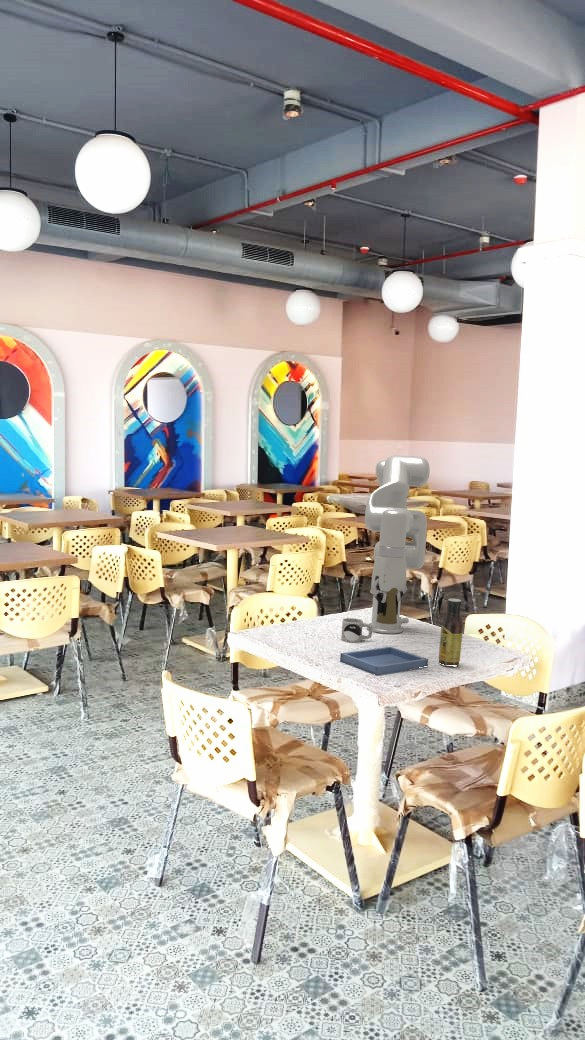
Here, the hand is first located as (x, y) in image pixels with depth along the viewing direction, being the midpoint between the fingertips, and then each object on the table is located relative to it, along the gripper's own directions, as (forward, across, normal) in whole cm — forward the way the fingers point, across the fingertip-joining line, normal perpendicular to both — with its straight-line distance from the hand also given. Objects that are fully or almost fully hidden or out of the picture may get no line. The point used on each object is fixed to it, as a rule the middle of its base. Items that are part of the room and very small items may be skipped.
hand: (387, 614), depth 239 cm
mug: (+15, -12, -26) cm, 32 cm away
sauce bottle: (+15, -18, +9) cm, 25 cm away
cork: (+2, 0, 0) cm, 2 cm away
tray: (+15, 0, 0) cm, 15 cm away
